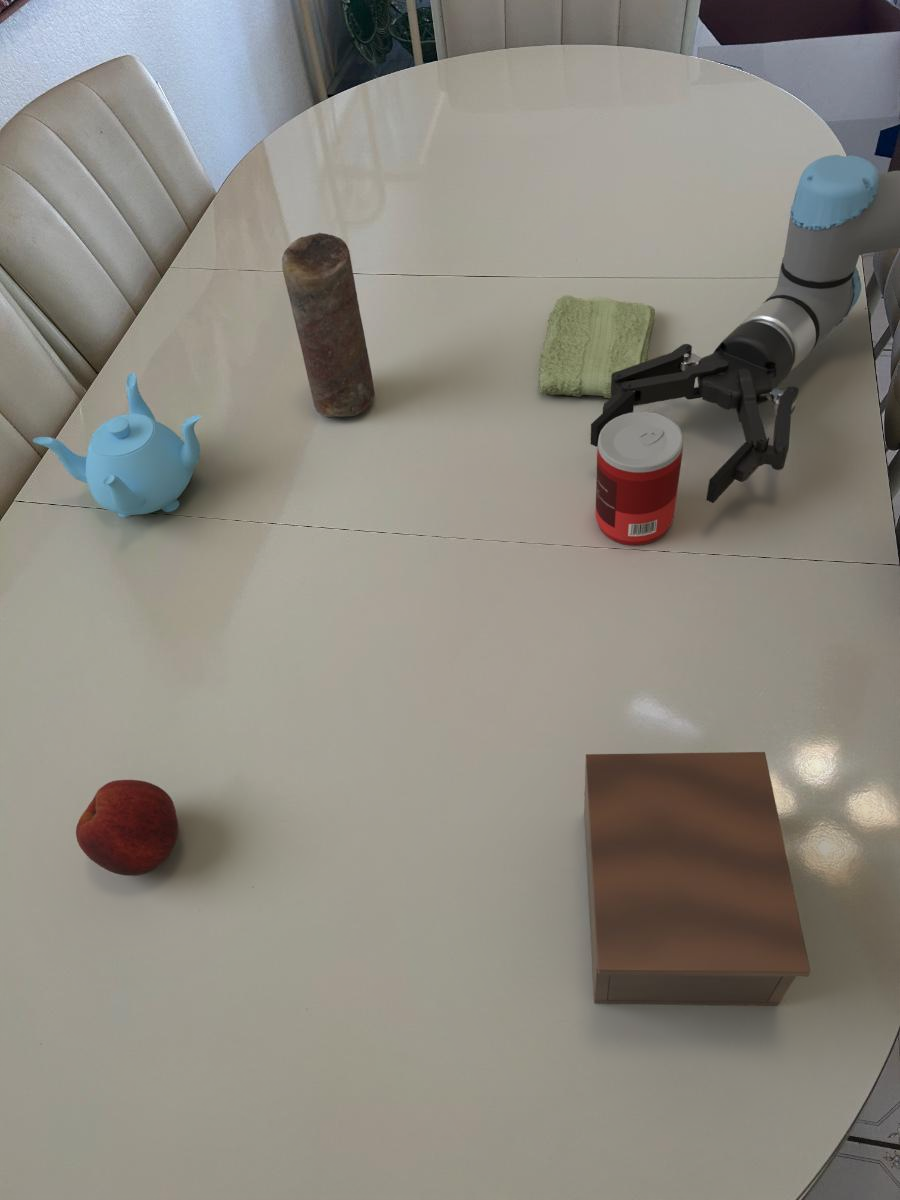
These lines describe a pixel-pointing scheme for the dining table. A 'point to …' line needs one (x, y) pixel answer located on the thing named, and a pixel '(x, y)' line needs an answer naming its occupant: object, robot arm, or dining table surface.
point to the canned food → (637, 476)
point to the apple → (128, 827)
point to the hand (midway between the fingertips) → (650, 463)
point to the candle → (329, 324)
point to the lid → (690, 867)
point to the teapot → (134, 460)
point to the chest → (676, 986)
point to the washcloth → (592, 344)
